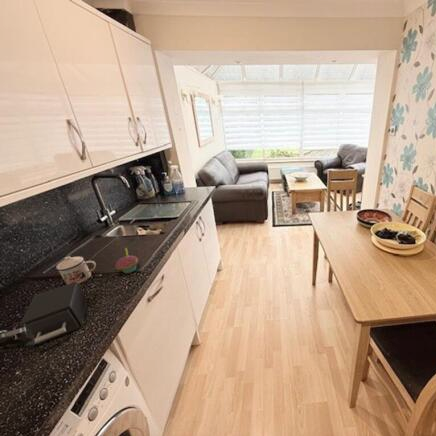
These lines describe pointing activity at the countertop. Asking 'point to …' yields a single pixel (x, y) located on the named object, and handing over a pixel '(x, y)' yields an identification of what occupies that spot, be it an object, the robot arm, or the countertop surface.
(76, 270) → the teacup with lid
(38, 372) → the countertop surface
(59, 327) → the drawer
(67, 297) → the cabinet
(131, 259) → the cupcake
